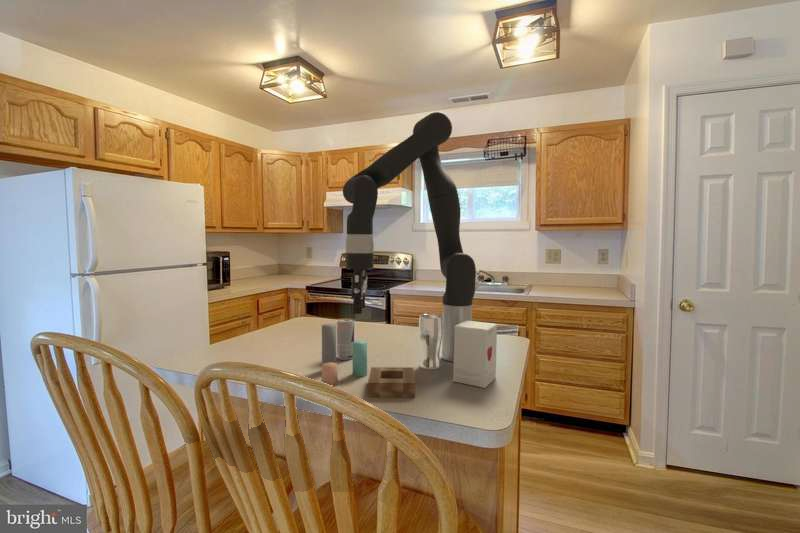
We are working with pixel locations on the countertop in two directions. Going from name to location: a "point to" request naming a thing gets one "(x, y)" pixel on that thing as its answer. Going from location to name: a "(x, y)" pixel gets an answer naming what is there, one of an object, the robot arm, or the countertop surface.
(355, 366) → the medium dowel
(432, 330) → the beer glass
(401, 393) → the brown wooden square frame
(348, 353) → the energy drink
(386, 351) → the countertop surface
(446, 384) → the countertop surface
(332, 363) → the short dowel
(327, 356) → the long dowel
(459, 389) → the countertop surface
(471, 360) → the supplement box
